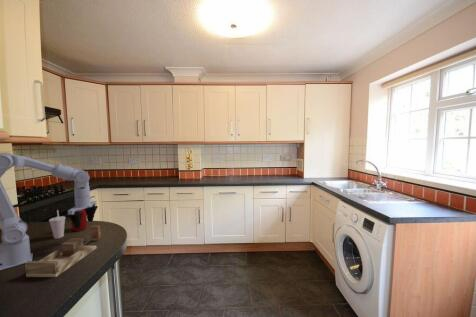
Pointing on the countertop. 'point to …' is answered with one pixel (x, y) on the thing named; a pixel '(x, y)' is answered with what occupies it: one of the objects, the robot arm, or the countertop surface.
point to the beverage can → (83, 221)
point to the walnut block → (79, 242)
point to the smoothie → (57, 226)
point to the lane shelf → (55, 263)
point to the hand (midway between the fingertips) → (84, 224)
